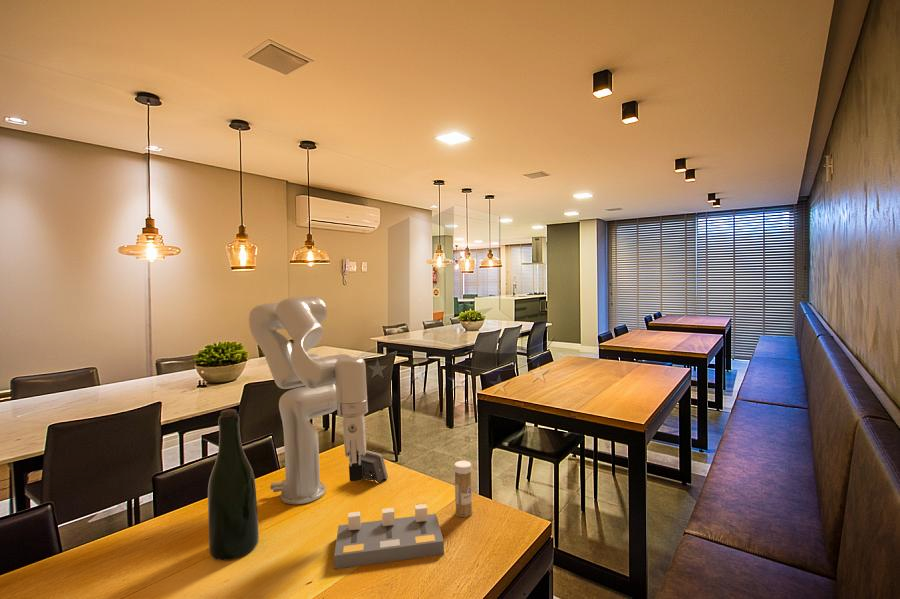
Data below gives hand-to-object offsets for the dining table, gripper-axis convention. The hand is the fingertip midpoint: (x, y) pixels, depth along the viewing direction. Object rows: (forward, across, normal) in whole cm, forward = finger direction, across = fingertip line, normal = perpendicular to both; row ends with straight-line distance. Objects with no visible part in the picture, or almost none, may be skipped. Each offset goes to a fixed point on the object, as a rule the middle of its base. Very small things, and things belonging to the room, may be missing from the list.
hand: (356, 479), depth 109 cm
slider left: (+9, -6, +1) cm, 11 cm away
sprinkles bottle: (+13, +1, -27) cm, 30 cm away
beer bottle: (+12, -2, +29) cm, 31 cm away
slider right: (+9, -6, -15) cm, 19 cm away
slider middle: (+9, -6, -7) cm, 13 cm away
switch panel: (+13, -9, -7) cm, 17 cm away
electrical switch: (+12, +27, -3) cm, 30 cm away
